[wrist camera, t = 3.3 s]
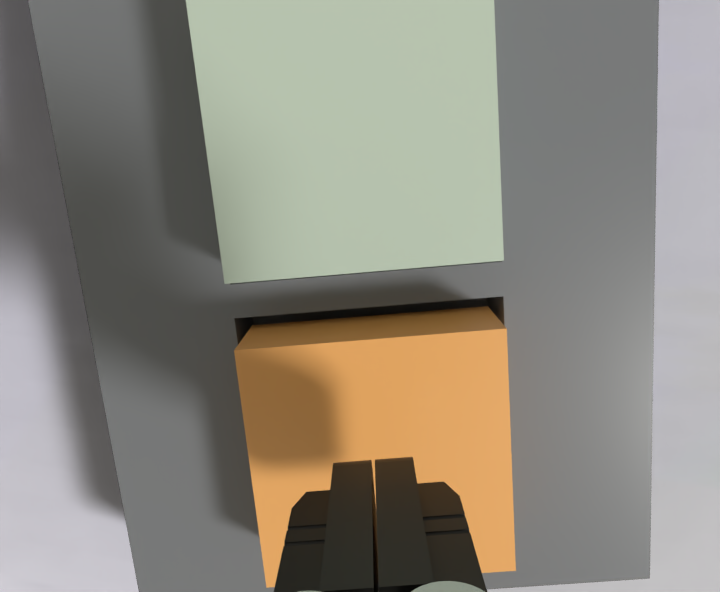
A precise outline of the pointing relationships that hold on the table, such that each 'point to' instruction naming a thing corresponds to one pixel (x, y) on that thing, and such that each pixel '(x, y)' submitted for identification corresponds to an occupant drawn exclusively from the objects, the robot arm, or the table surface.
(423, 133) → the sage key
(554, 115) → the keypad
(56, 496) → the table surface
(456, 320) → the orange key
